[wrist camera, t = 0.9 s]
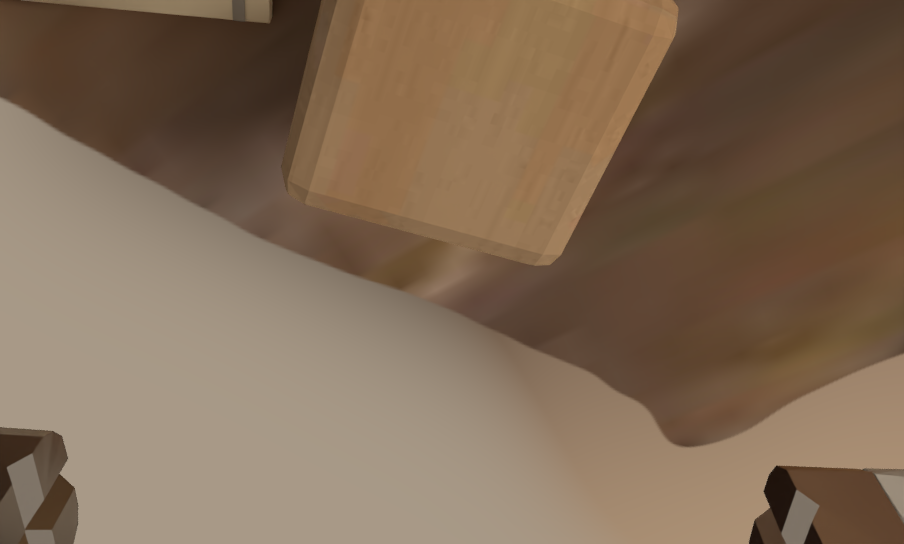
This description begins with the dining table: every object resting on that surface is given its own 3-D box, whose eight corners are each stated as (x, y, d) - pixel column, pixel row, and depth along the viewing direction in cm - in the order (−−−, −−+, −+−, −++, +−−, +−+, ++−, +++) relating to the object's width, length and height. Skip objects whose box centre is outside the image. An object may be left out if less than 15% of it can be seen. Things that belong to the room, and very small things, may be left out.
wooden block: (584, -138, 40) (701, 13, 24) (505, 56, 45) (557, 284, 29) (378, -218, 38) (355, -111, 22) (321, -4, 43) (270, 208, 27)
